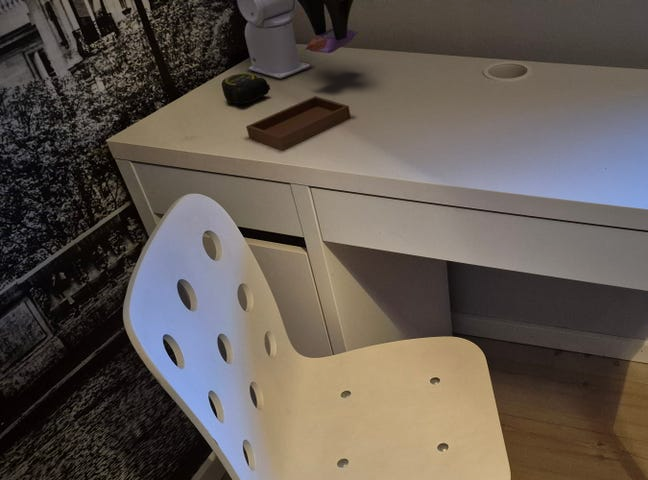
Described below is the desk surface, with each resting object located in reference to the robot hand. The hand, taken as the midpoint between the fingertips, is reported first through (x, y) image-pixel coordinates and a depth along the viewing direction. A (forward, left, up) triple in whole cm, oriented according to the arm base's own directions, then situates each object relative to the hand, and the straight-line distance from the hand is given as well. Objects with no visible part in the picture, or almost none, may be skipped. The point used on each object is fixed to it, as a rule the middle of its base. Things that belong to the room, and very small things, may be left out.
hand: (331, 36), depth 120 cm
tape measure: (-8, -15, -9) cm, 19 cm away
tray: (+9, -18, -8) cm, 22 cm away
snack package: (0, 0, -2) cm, 2 cm away
